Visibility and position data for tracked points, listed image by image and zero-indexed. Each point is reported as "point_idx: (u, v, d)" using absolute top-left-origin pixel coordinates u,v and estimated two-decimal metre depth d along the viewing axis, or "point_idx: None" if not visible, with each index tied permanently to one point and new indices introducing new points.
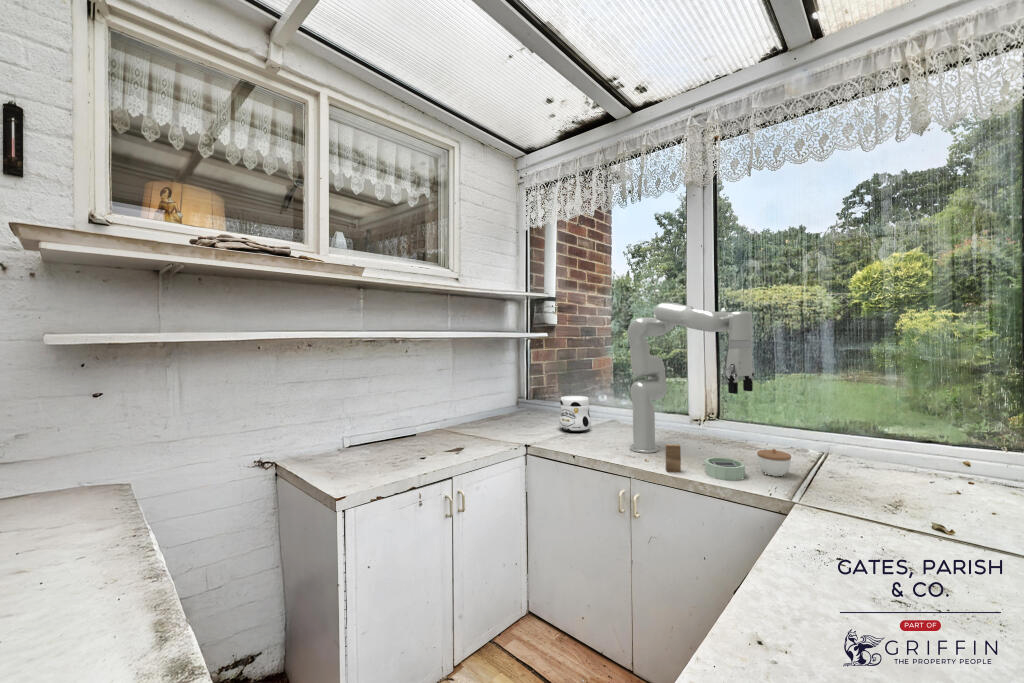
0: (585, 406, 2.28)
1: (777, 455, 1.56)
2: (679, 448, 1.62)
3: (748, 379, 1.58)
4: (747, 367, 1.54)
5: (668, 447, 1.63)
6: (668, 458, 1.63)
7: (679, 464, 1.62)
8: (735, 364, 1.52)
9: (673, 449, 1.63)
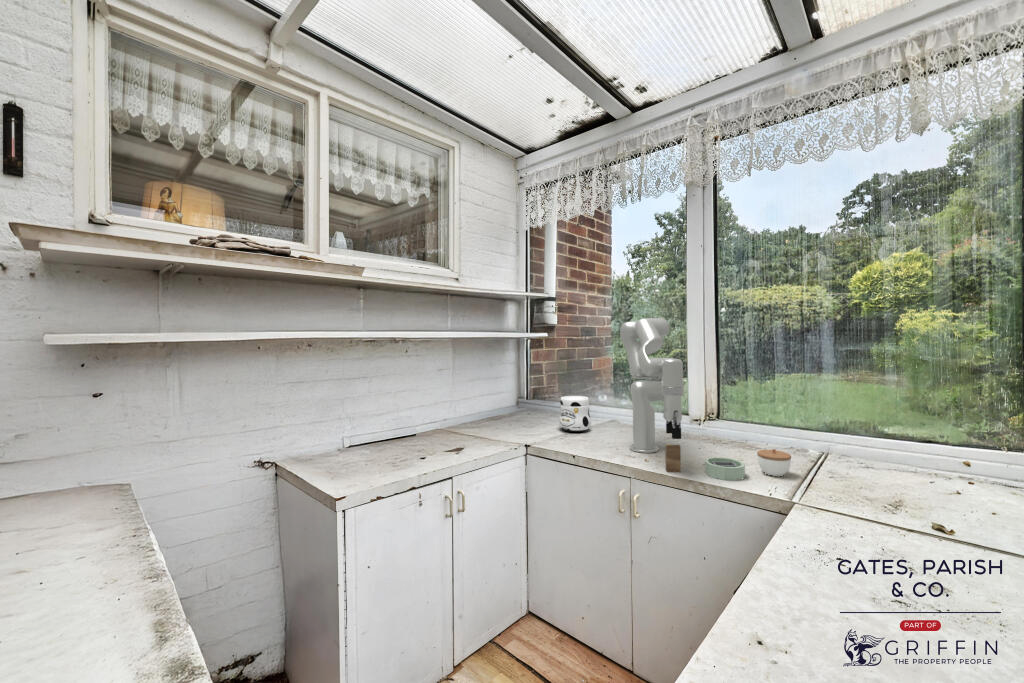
0: (585, 406, 2.28)
1: (777, 455, 1.56)
2: (679, 448, 1.62)
3: (671, 422, 1.68)
4: None
5: (668, 447, 1.63)
6: (668, 458, 1.63)
7: (679, 464, 1.62)
8: (678, 410, 1.58)
9: (673, 449, 1.62)
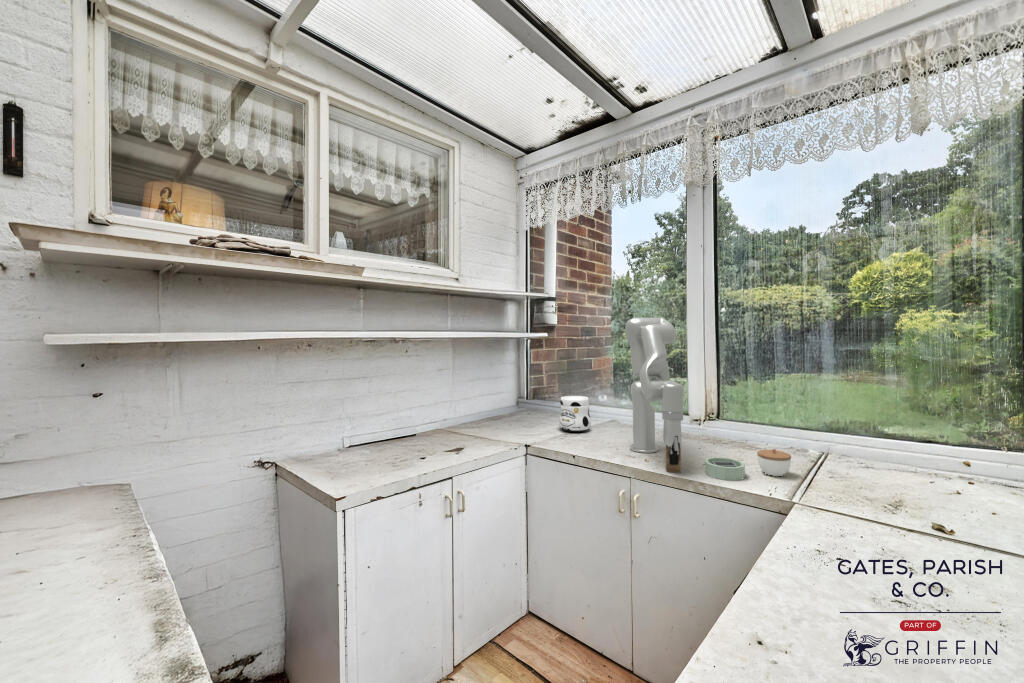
0: (585, 406, 2.28)
1: (777, 455, 1.56)
2: (679, 448, 1.62)
3: None
4: None
5: (668, 447, 1.63)
6: (668, 458, 1.63)
7: (679, 464, 1.62)
8: (678, 436, 1.58)
9: None
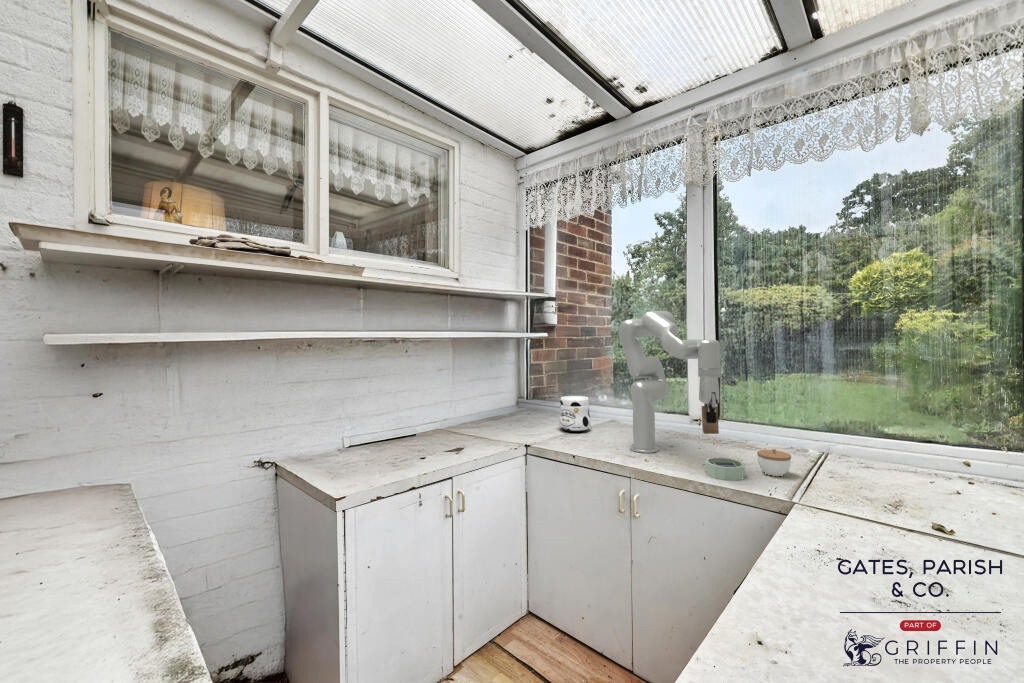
0: (585, 406, 2.28)
1: (777, 455, 1.56)
2: (716, 409, 1.58)
3: None
4: None
5: (705, 408, 1.59)
6: (705, 419, 1.59)
7: (717, 425, 1.58)
8: (716, 392, 1.55)
9: None
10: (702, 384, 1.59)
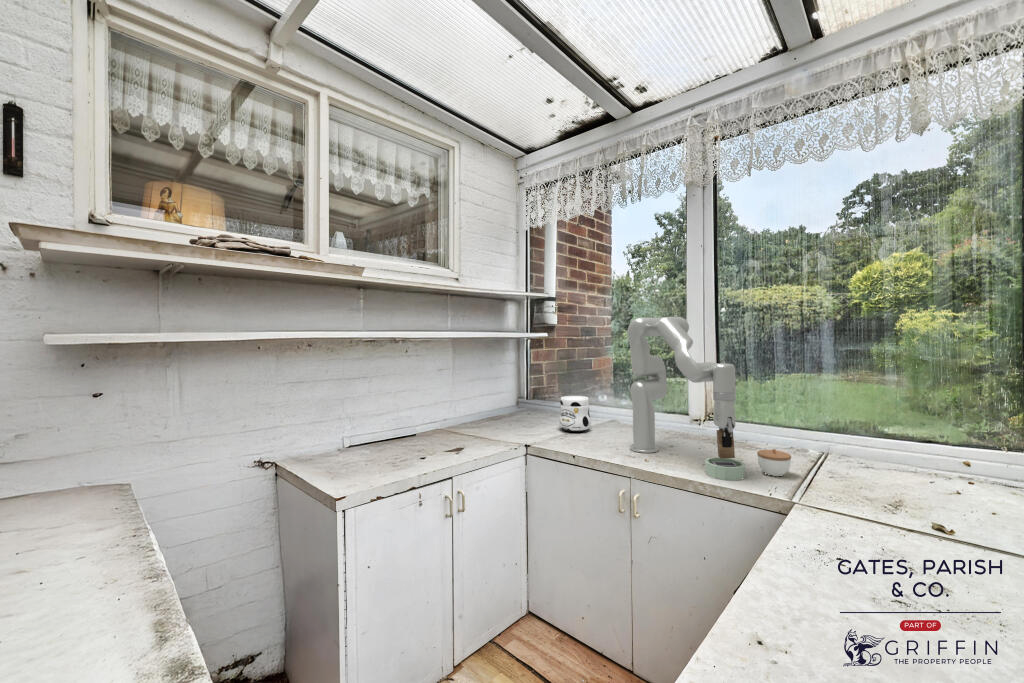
0: (585, 406, 2.28)
1: (777, 455, 1.56)
2: (732, 433, 1.57)
3: None
4: None
5: (720, 432, 1.58)
6: (721, 444, 1.58)
7: (733, 449, 1.57)
8: (732, 417, 1.54)
9: None
10: (717, 408, 1.58)
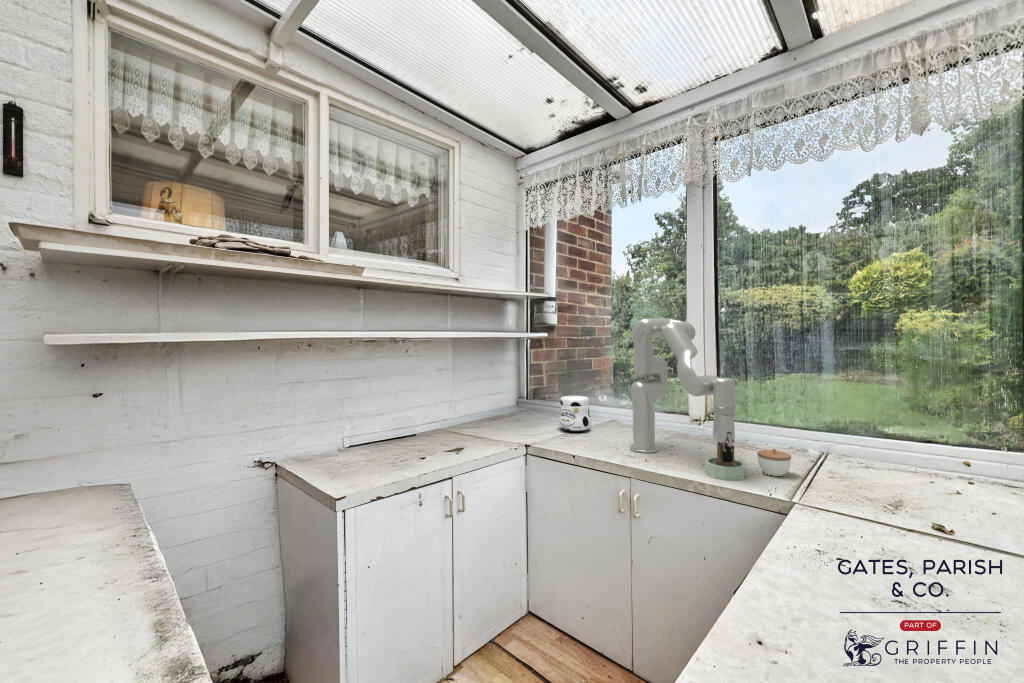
0: (585, 406, 2.28)
1: (777, 455, 1.56)
2: (733, 448, 1.58)
3: None
4: None
5: (721, 447, 1.58)
6: (721, 458, 1.58)
7: (733, 464, 1.58)
8: (732, 432, 1.54)
9: None
10: (717, 422, 1.58)
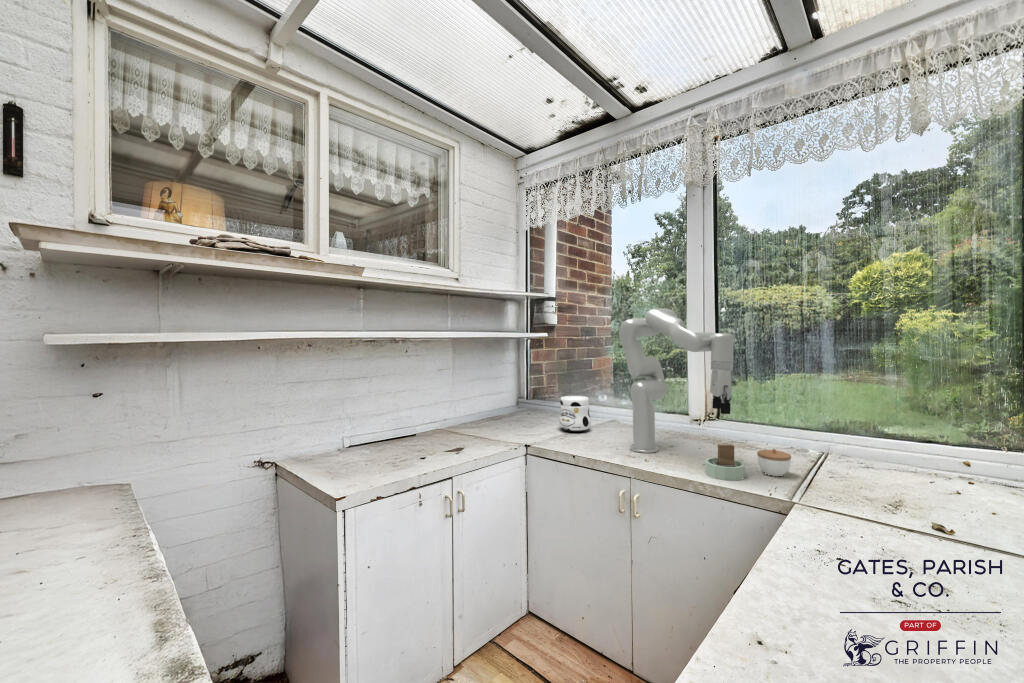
0: (585, 406, 2.28)
1: (777, 455, 1.56)
2: (733, 448, 1.58)
3: (718, 397, 1.66)
4: None
5: (721, 447, 1.58)
6: (721, 458, 1.58)
7: (733, 464, 1.58)
8: (728, 385, 1.56)
9: (726, 449, 1.58)
10: (714, 377, 1.60)
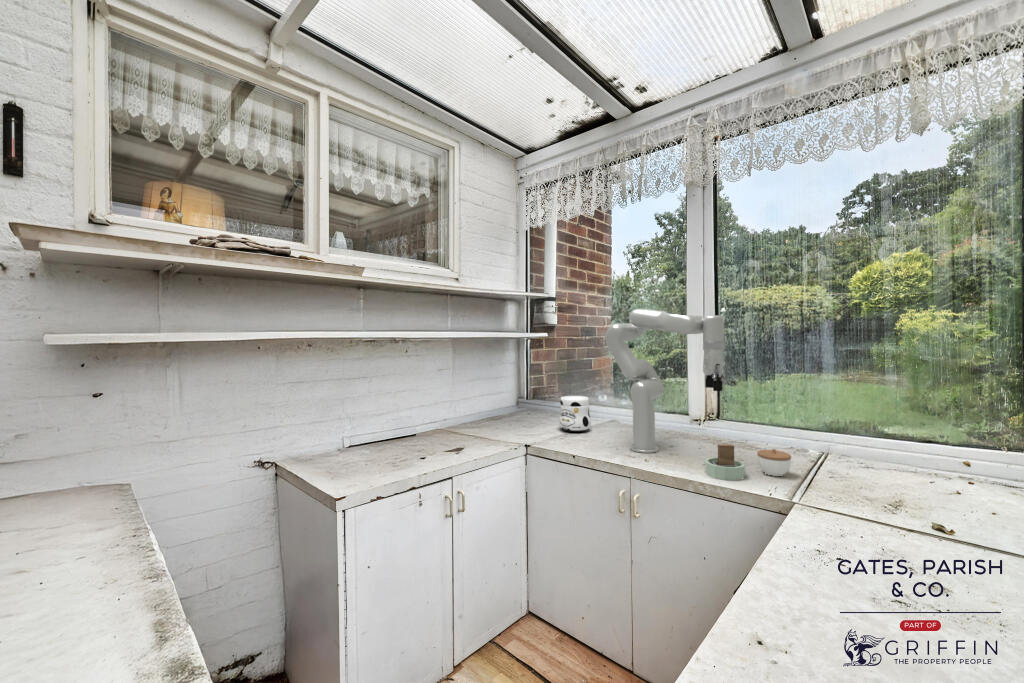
0: (585, 406, 2.28)
1: (777, 455, 1.56)
2: (733, 448, 1.58)
3: (710, 377, 1.75)
4: None
5: (721, 447, 1.58)
6: (721, 458, 1.58)
7: (733, 464, 1.58)
8: (720, 364, 1.65)
9: (726, 449, 1.58)
10: (707, 357, 1.69)
